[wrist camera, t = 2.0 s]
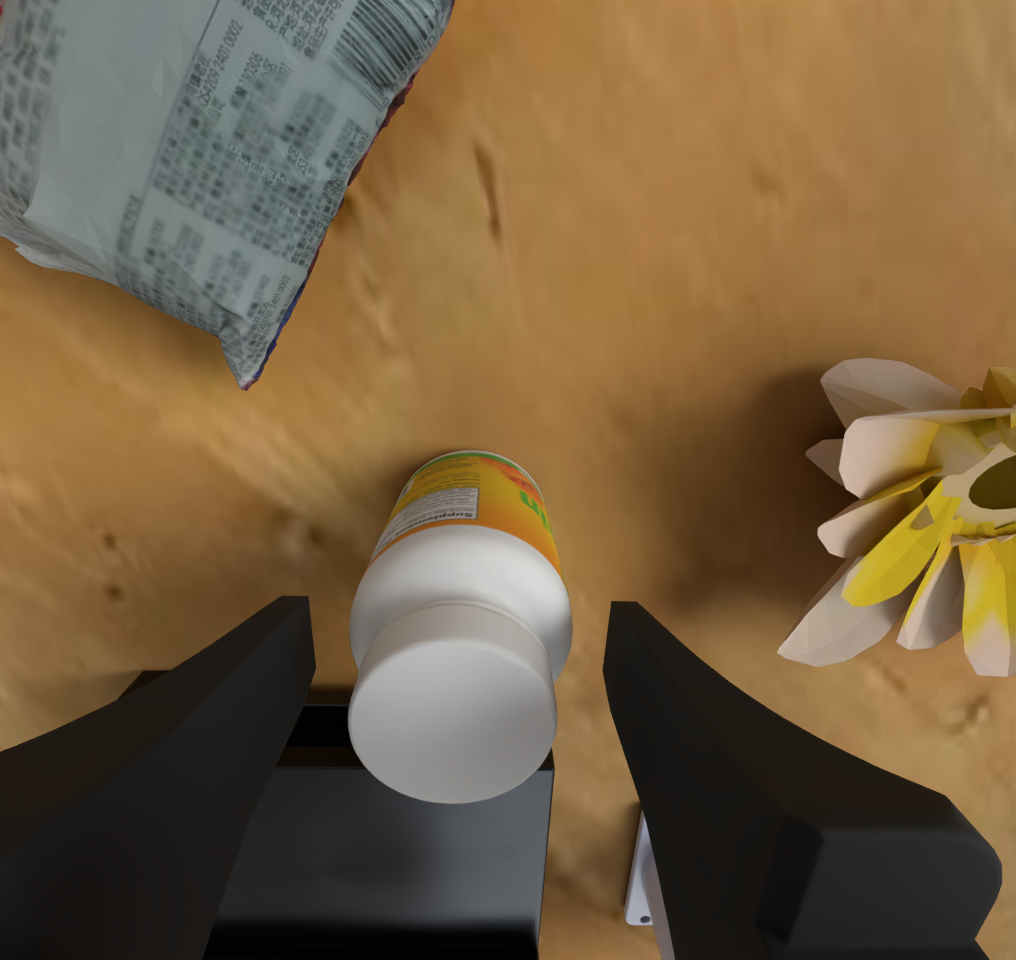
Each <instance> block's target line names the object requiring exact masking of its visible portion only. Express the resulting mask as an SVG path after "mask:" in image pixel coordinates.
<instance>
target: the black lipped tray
mask: <svg viewBox="0 0 1016 960" xmlns="http://www.w3.org/2000/svg"><path fill="white" fill-rule="evenodd" d="M167 672H169V671H143V672H142V673H141V674H140V675H139V676H138V677H137V678H136V679H135V680H134V681H133V682H132V684H131V685H130V686H129V687H128V688H127V689H126V690H125V691H124V692H123V693H122V694H121V696H120V697H119V698H118V699H120V698H122V697H124V696H126V695H128V694H129V693H131V692H133V691H135V690H137V689H139V688H141V687H142V686H144V685H146V684H148V683H150V682H151V681H153V680H155V679H157V678H158V677H160V676H162V675H163V674H165V673H167ZM351 697H352V693H308V694H307V697H306V700H305V703H304V706H303V709H302V711H301V713H300V715H299V717H298V720H297V722H296V724H295V726H294V728H293V730H292V732H291V735H290V737H289V739H288V741H287V743H286V745H285V747H284V749H283V751H282V754H281V756H280V758H279V760H278V762H277V764H276V766H275V768H274V770H273V772H272V774H271V777H270V779H269V781H268V783H267V785H266V787H265V789H264V791H263V793H262V795H261V798H260V800H259V802H258V804H257V806H256V809H255V811H254V813H253V816H252V818H251V820H250V823H249V825H248V828H247V831H246V834H245V836H244V839H243V842H242V845H241V847H240V850H239V853H238V856H237V858H236V861H235V864H234V867H233V869H232V872H231V875H230V878H229V881H228V884H227V887H226V889H225V892H224V895H223V898H222V901H221V904H220V907H219V910H218V913H217V916H216V919H215V921H214V924H213V927H212V930H211V933H210V937H209V940H208V943H207V946H206V949H205V952H204V955H203V958H202V960H539V954H538V943H539V932H540V922H541V911H542V900H543V890H544V879H545V868H546V858H547V847H548V836H549V825H550V815H551V804H552V793H553V783H554V772H555V767H554V759H553V752H552V747H551V749H550V751H549V753H548V755H547V757H546V758H545V760H544V761H543V763H542V764H541V765H540V767H539V768H538V769H537V770H536V771H535V772H534V773H533V774H532V775H531V776H530V777H529V778H527V779H526V780H525V781H524V782H522V783H521V784H520V785H518V786H516V787H515V788H513V789H511V790H509V791H507V792H505V793H503V794H501V795H498V796H495V797H492V798H489V799H485V800H481V801H476V802H469V803H460V804H448V803H435V802H429V801H423V800H419V799H416V798H413V797H410V796H407V795H404V794H402V793H400V792H398V791H396V790H394V789H392V788H390V787H388V786H387V785H385V784H384V783H383V782H381V781H380V780H378V779H377V778H376V777H375V776H374V775H373V774H372V773H371V772H370V771H369V770H368V769H367V768H366V767H365V766H364V765H363V763H362V762H361V760H360V759H359V757H358V755H357V754H356V752H355V750H354V748H353V745H352V743H351V739H350V734H349V729H348V709H349V704H350V700H351ZM118 699H117V700H118Z"/></svg>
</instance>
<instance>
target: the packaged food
mask: <svg viewBox="0 0 1016 960" xmlns="http://www.w3.org/2000/svg"><path fill="white" fill-rule="evenodd" d="M454 2H455V0H0V236H2V237H5V238H8V239H9V240H11V241H12V242H13V243H15V244H16V245H18V246H19V247H18V248H16V249H15V250H16V251H17V252H19V253H20V254H21V255H22V256H24V257H25V258H26V259H27V260H29V261H30V262H32V263H35V264H37V265H40V266H42V267H46V268H52V269H58V270H64V271H70V272H73V273H76V272H77V273H80V274H82V275H86V276H89V277H92V278H95V279H98V280H102V281H105V282H107V283H110V284H113V285H115V286H118V287H120V288H121V289H123V290H124V291H125V292H127V293H129V294H131V295H132V296H134V297H136V298H138V299H139V300H141V301H143V302H145V303H146V304H148V305H150V306H152V307H153V308H155V309H157V310H159V311H161V312H163V313H165V314H167V315H169V316H172V317H174V318H176V319H178V320H181V321H183V322H185V323H187V324H190V325H192V326H194V327H197V328H199V329H201V330H204V331H206V332H208V333H211V334H213V335H215V336H216V337H218V338H220V342H221V346H222V350H223V354H224V356H225V359H226V361H227V364H228V366H229V368H230V370H231V371H232V373H233V375H234V376H235V378H236V380H237V384H238V386H239V387H240V388H241V390H246V391H247V390H248V389H249V388H250V386H251V385H252V384H254V383H255V382H256V381H258V379H259V377H260V375H261V373H262V372H263V368H264V365H265V363H266V362H267V361H268V357H269V355H270V354H271V352H272V351H273V349H274V348H275V346H276V341H277V339H278V336H279V334H280V332H281V330H282V328H283V326H284V325H285V324H286V323H287V321H288V319H289V318H290V316H291V314H292V311H293V309H294V307H295V305H296V304H297V302H298V300H299V298H300V296H301V294H302V291H303V289H304V287H305V285H306V283H307V280H308V278H309V276H310V274H311V272H312V269H313V267H314V265H315V262H316V260H317V257H318V253H319V248H320V247H321V246H322V244H323V241H324V238H325V235H326V232H327V229H328V227H329V224H330V222H332V221H333V216H337V213H338V210H339V209H341V207H342V204H343V202H344V193H345V191H346V189H347V187H348V186H349V185H350V184H351V182H352V181H353V179H354V178H355V176H356V175H357V173H358V172H359V171H360V169H361V167H362V164H363V161H364V159H365V158H366V156H367V154H368V153H369V151H370V149H371V147H372V145H373V143H374V141H375V139H376V138H377V136H378V135H379V133H380V131H381V130H382V128H384V127H386V126H388V124H389V121H390V119H391V117H392V116H393V115H394V114H395V112H396V111H397V110H398V108H399V107H400V106H401V105H402V104H404V100H405V96H406V95H407V93H408V92H409V90H410V89H411V88H412V85H413V79H414V78H415V76H416V75H417V73H418V72H419V70H420V67H421V66H422V65H423V64H424V63H425V62H426V61H427V59H428V58H429V56H430V55H431V54H432V52H433V51H434V50H435V48H436V47H437V45H438V42H439V39H440V38H441V36H442V35H443V33H444V32H445V30H446V29H447V26H448V23H449V20H450V17H451V13H452V9H453V6H454ZM29 246H30V247H32V248H33V249H32V248H30V247H29Z"/></svg>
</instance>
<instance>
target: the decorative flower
mask: <svg viewBox="0 0 1016 960" xmlns="http://www.w3.org/2000/svg"><path fill="white" fill-rule="evenodd" d="M820 382H821V384H822V386H823V388H824V391H825V393H826V396H827V397H828V399H829V401H830V403H831V404H832V406H833V408H834V410H835V411H836V413H837V415H838V417H839V418H840V420H841V422H842V423H843V425H844V427H845V429H846V430H847V431H846V432H845V435H844V439H830V440H822V441H821V442H819V443H818V444H816V445H815V446H813V447H811V448H810V449H808V450H807V452H806V453H805V456H806V457H807V458H809V459H810V460H811V461H812V462H813V463H814V464H816V465H817V466H818V467H819V468H820V469H822V470H823V471H824V472H825V473H826V474H827V475H829V476H830V477H831V478H832V479H833V480H835V481H836V482H838V483H839V484H841V485H842V486H844V487H845V488H846V489H847V490H848V491H850V492H851V493H853V494H854V495H856V496H857V497H859V498H860V499H861V500H858V501H856V502H854V503H853V504H851V505H850V506H848V507H847V508H845V509H844V510H843V511H841V512H840V513H838V514H837V515H835V516H834V517H832V518H831V519H829V520H828V521H827V522H825V523H824V524H822V525H821V526H820V527H819V528H818V537H819V539H820V540H821V541H822V543H823V544H824V546H825V547H826V549H827V550H828V552H829V553H830V554H833V555H836V556H839V557H843V558H848V559H846V560H845V562H844V563H843V564H842V565H841V566H840V567H839V568H838V570H837V571H836V572H835V573H834V574H833V575H832V577H831V578H830V579H829V580H828V581H827V582H826V583H825V585H824V586H823V587H822V588H821V589H820V590H819V591H818V593H817V594H816V595H815V596H814V597H813V598H812V599H811V601H810V602H809V603H808V604H807V606H806V608H805V609H804V611H803V612H802V614H801V616H800V617H799V619H798V620H797V622H796V624H795V625H794V627H793V628H792V630H791V631H790V633H789V634H788V635H787V637H786V638H785V640H784V641H783V643H782V644H781V646H780V648H779V650H778V652H777V653H778V654H780V655H781V656H783V657H784V658H786V659H789V660H793V661H796V662H800V663H804V664H808V665H811V666H815V667H821V666H825V665H830V664H834V663H839V662H844V661H848V660H849V659H851V658H853V657H854V656H856V655H857V654H859V653H861V652H862V651H864V650H866V649H867V648H869V647H871V646H872V645H874V644H876V643H877V642H879V641H880V640H881V639H882V638H883V637H884V636H885V635H886V633H887V632H888V631H889V630H890V629H891V627H892V626H893V625H894V624H895V623H896V621H897V620H898V619H899V618H900V617H901V615H902V614H903V613H904V612H905V610H906V609H907V607H908V606H909V604H910V603H911V601H912V600H913V601H912V603H911V605H910V608H909V610H908V612H907V615H906V617H905V619H904V622H903V625H902V628H901V630H900V633H899V636H898V638H897V641H896V642H897V643H898V644H900V645H902V646H903V647H905V648H907V649H908V650H913V649H926V648H933V647H935V646H937V645H939V644H941V643H942V642H944V641H946V640H948V639H949V638H951V637H952V636H953V635H955V634H956V633H957V632H959V631H960V630H961V629H962V631H963V639H964V647H965V654H966V656H967V657H968V659H969V661H970V663H971V664H972V666H973V668H974V670H975V672H976V673H977V675H985V676H1002V677H1009V676H1012V675H1016V368H1007V367H989V370H988V374H987V377H986V380H985V383H984V385H983V391H981V390H978V389H975V388H970V387H969V388H968V390H967V391H966V393H965V394H964V395H963V394H962V393H961V392H960V391H958V390H956V389H955V388H953V387H951V386H949V385H948V384H946V383H944V382H943V381H941V380H939V379H938V378H936V377H934V376H932V375H930V374H928V373H926V372H924V371H922V370H919V369H917V368H915V367H913V366H911V365H909V364H906V363H904V362H901V361H892V360H884V359H875V358H859V359H849V360H843V361H842V362H840V363H839V364H837V365H836V366H834V367H833V368H831V369H830V370H828V371H827V372H825V374H824V375H823V377H822V379H821V380H820ZM934 552H937V553H936V556H935V559H934V560H933V562H932V564H931V566H930V568H929V569H928V571H927V573H926V575H925V577H924V567H925V565H926V563H927V562H928V561H929V559H930V558H931V556H932V555H933V553H934Z"/></svg>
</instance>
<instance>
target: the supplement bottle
mask: <svg viewBox="0 0 1016 960" xmlns="http://www.w3.org/2000/svg"><path fill="white" fill-rule="evenodd" d="M349 638H350V645H351V650H352V654H353V658H354V660H355V663H356V665H357V668H358V670H359V672H358V677H357V680H356V684H355V687H354V690H353V693H352V697H351V700H350V704H349V709H348V729H349V734H350V739H351V743H352V745H353V748H354V750H355V752H356V754H357V755H358V757H359V759H360V760H361V762H362V763H363V765H364V766H365V767H366V768H367V769H368V770H369V771H370V772H371V773H372V774H373V775H374V776H375V777H376V778H377V779H378V780H380V781H381V782H383V783H384V784H385V785H387V786H388V787H390V788H392V789H394V790H396V791H398V792H400V793H402V794H404V795H407V796H410V797H413V798H416V799H419V800H423V801H429V802H435V803H448V804H460V803H469V802H476V801H481V800H485V799H489V798H492V797H495V796H498V795H501V794H503V793H505V792H507V791H509V790H511V789H513V788H515V787H516V786H518V785H520V784H521V783H522V782H524V781H525V780H526V779H527V778H529V777H530V776H531V775H532V774H533V773H534V772H535V771H536V770H537V769H538V768H539V767H540V765H541V764H542V763H543V761H544V760H545V758H546V757H547V755H548V753H549V751H550V749H551V747H552V744H553V741H554V738H555V734H556V727H557V709H556V701H555V693H554V685H553V684H554V683H555V682H556V680H557V679H558V677H559V676H560V674H561V672H562V670H563V668H564V666H565V663H566V660H567V658H568V655H569V651H570V647H571V641H572V616H571V609H570V603H569V598H568V593H567V589H566V586H565V582H564V578H563V573H562V570H561V565H560V561H559V557H558V553H557V549H556V546H555V541H554V537H553V533H552V529H551V525H550V521H549V517H548V513H547V509H546V505H545V502H544V499H543V496H542V494H541V492H540V490H539V488H538V486H537V484H536V483H535V482H534V480H533V479H532V478H531V476H530V475H529V474H528V473H527V472H526V471H525V470H524V469H523V468H521V467H520V466H519V465H517V464H516V463H514V462H513V461H511V460H510V459H508V458H506V457H503V456H501V455H499V454H496V453H492V452H487V451H482V450H462V451H455V452H451V453H447V454H444V455H441V456H439V457H437V458H435V459H433V460H431V461H429V462H428V463H426V464H425V465H424V466H422V467H421V468H420V469H419V470H418V471H417V472H416V473H415V474H414V475H413V476H412V477H411V478H410V479H409V481H408V482H407V484H406V485H405V487H404V489H403V490H402V492H401V494H400V496H399V498H398V500H397V502H396V504H395V507H394V509H393V511H392V513H391V516H390V518H389V520H388V522H387V524H386V526H385V529H384V531H383V533H382V535H381V537H380V539H379V541H378V544H377V546H376V549H375V551H374V553H373V555H372V558H371V560H370V562H369V564H368V566H367V569H366V571H365V573H364V575H363V577H362V579H361V581H360V584H359V586H358V589H357V592H356V595H355V598H354V601H353V604H352V608H351V614H350V621H349Z"/></svg>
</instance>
